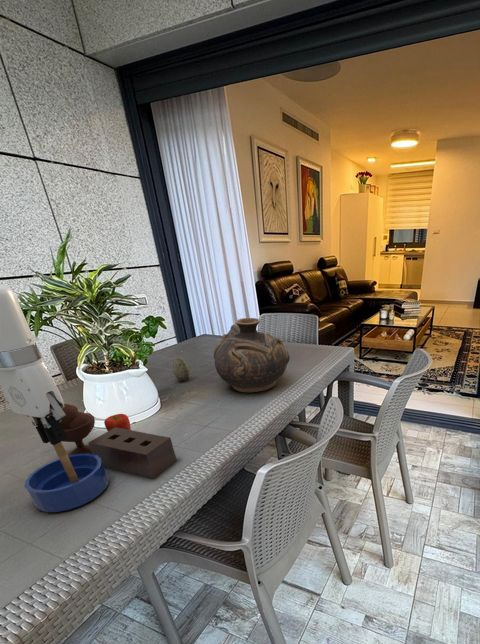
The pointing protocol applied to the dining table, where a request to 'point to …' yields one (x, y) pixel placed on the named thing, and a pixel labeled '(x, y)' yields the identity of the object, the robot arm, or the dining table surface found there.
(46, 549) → the dining table surface
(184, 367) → the decorative egg
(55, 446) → the cooking stick
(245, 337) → the vessel
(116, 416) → the apple
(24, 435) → the dining table surface
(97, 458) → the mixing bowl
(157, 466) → the block
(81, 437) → the ice cream bowl
